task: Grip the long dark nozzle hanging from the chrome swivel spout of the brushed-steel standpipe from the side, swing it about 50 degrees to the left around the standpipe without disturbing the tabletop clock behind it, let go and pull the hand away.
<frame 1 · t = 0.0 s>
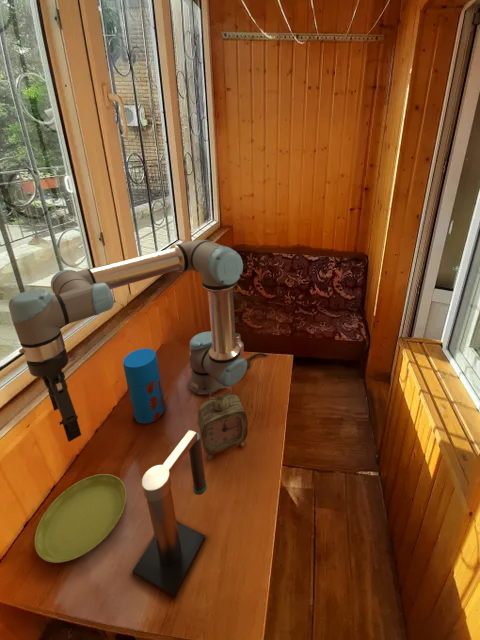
hand: (67, 421, 80), 28 cm above the table, tool pointing down, fingers open, 13 cm apart
standpipe: (171, 556, 77), on the table
tabletop clock: (224, 446, 105), on the table
medicine bottle: (199, 361, 146), on the table
thermos: (149, 412, 118), on the table
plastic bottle: (238, 374, 138), on the table
spout: (179, 485, 76), point 17 cm above the table, hinge at 0.0°
green plate: (85, 521, 84), on the table
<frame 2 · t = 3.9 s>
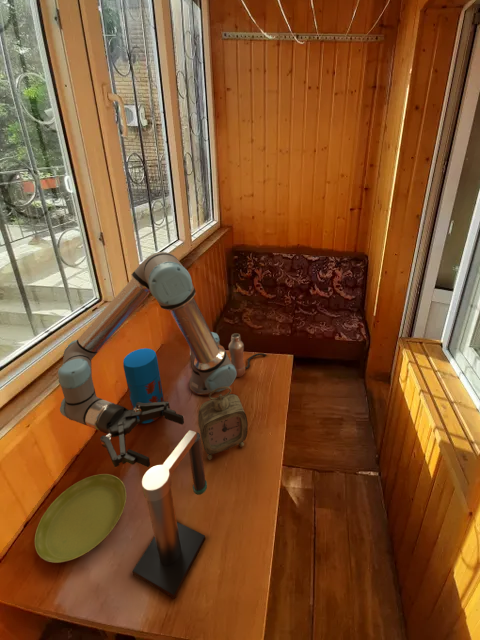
hand: (167, 439, 85), 20 cm above the table, tool horizontal, fingers open, 13 cm apart
nothing on the table moved.
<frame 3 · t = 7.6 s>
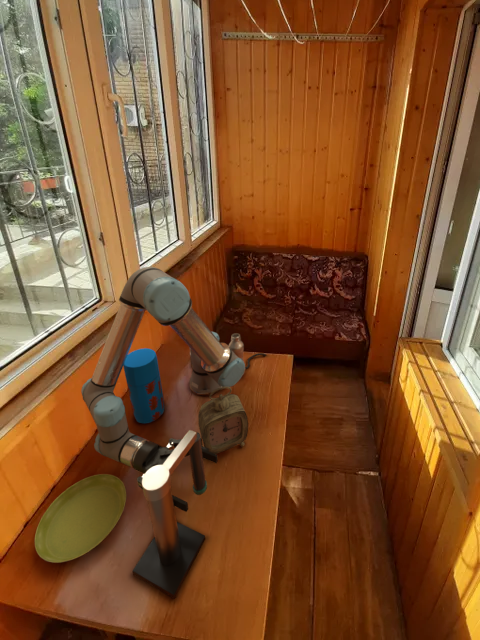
hand: (203, 481, 84), 10 cm above the table, tool horizontal, fingers open, 13 cm apart
tabletop clock: (224, 446, 105), on the table, touching gripper
everything else where it was.
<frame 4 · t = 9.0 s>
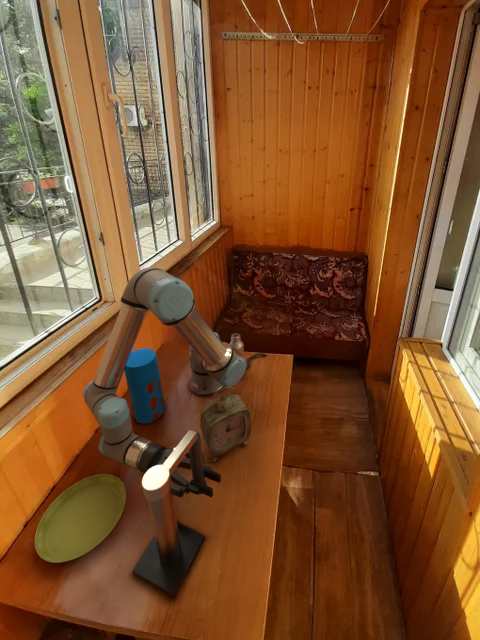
hand: (216, 485, 83), 10 cm above the table, tool horizontal, fingers closed on spout, 3 cm apart
tabletop clock: (226, 446, 105), on the table
spout: (179, 485, 76), point 17 cm above the table, hinge at 0.0°, touching gripper
everything else where it was.
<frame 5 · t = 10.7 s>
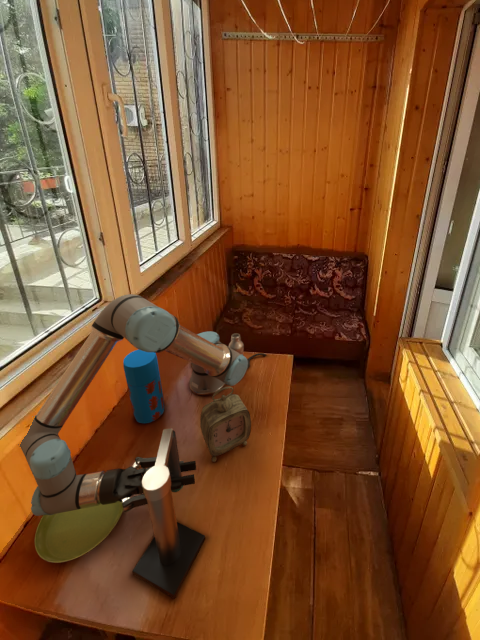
hand: (194, 471, 86), 10 cm above the table, tool horizontal, fingers closed on spout, 3 cm apart
spout: (167, 483, 77), point 17 cm above the table, hinge at 29.7°, touching gripper
everything else where it was.
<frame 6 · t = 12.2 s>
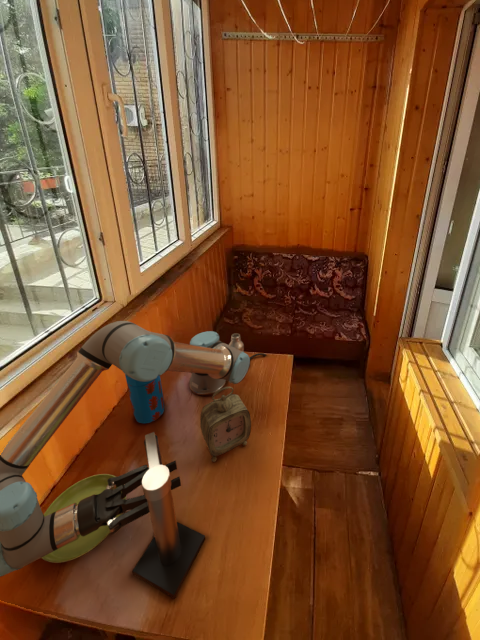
hand: (177, 472, 87), 10 cm above the table, tool horizontal, fingers open, 4 cm apart
spout: (158, 486, 76), point 17 cm above the table, hinge at 48.8°
everything else where it was.
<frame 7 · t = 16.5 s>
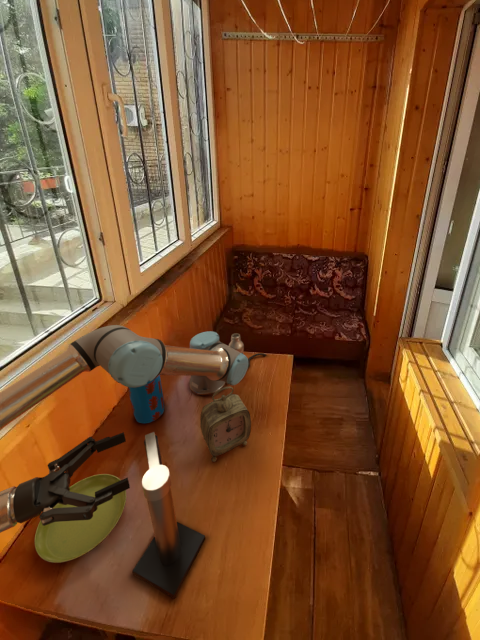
hand: (126, 458, 77), 22 cm above the table, tool horizontal, fingers open, 13 cm apart
nothing on the table moved.
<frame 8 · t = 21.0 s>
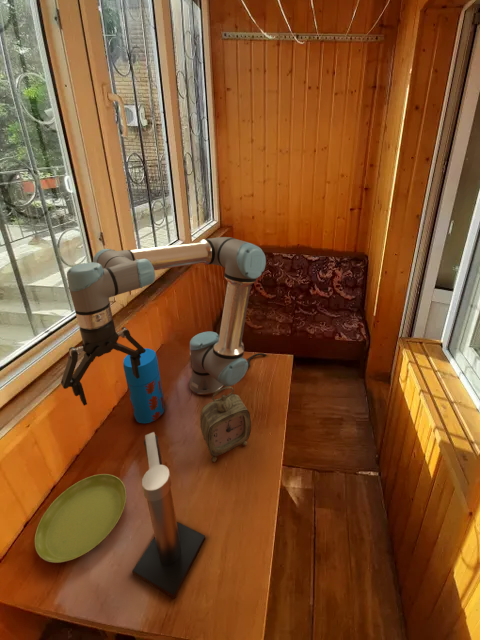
hand: (111, 388, 87), 32 cm above the table, tool pointing down, fingers open, 13 cm apart
nothing on the table moved.
at the end: spout at +49° (first picture: +0°); tabletop clock moved 1.0 cm from its start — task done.
